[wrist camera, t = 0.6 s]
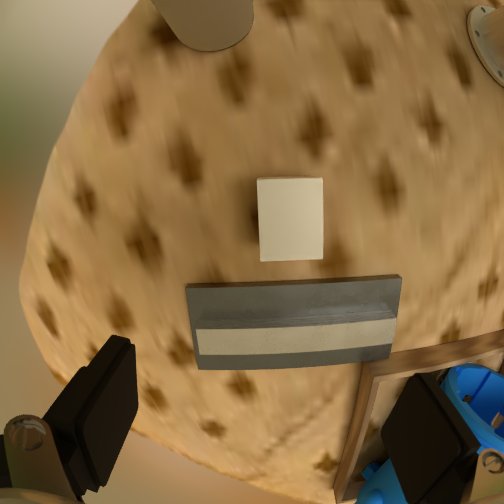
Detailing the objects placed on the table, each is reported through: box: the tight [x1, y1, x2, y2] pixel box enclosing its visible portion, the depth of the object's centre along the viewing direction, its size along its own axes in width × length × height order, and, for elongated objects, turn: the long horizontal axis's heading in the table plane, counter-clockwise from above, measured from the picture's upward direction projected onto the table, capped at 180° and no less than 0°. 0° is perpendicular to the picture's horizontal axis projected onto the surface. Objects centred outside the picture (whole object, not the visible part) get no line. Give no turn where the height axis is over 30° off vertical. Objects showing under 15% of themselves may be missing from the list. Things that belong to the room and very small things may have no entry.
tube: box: [354, 363, 504, 504], centre depth 28 cm, size 25×22×19 cm
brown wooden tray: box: [333, 330, 504, 504], centre depth 35 cm, size 28×32×4 cm
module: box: [257, 176, 323, 262], centre depth 26 cm, size 5×6×5 cm
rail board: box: [186, 274, 402, 370], centre depth 30 cm, size 22×10×3 cm, turn 93°
